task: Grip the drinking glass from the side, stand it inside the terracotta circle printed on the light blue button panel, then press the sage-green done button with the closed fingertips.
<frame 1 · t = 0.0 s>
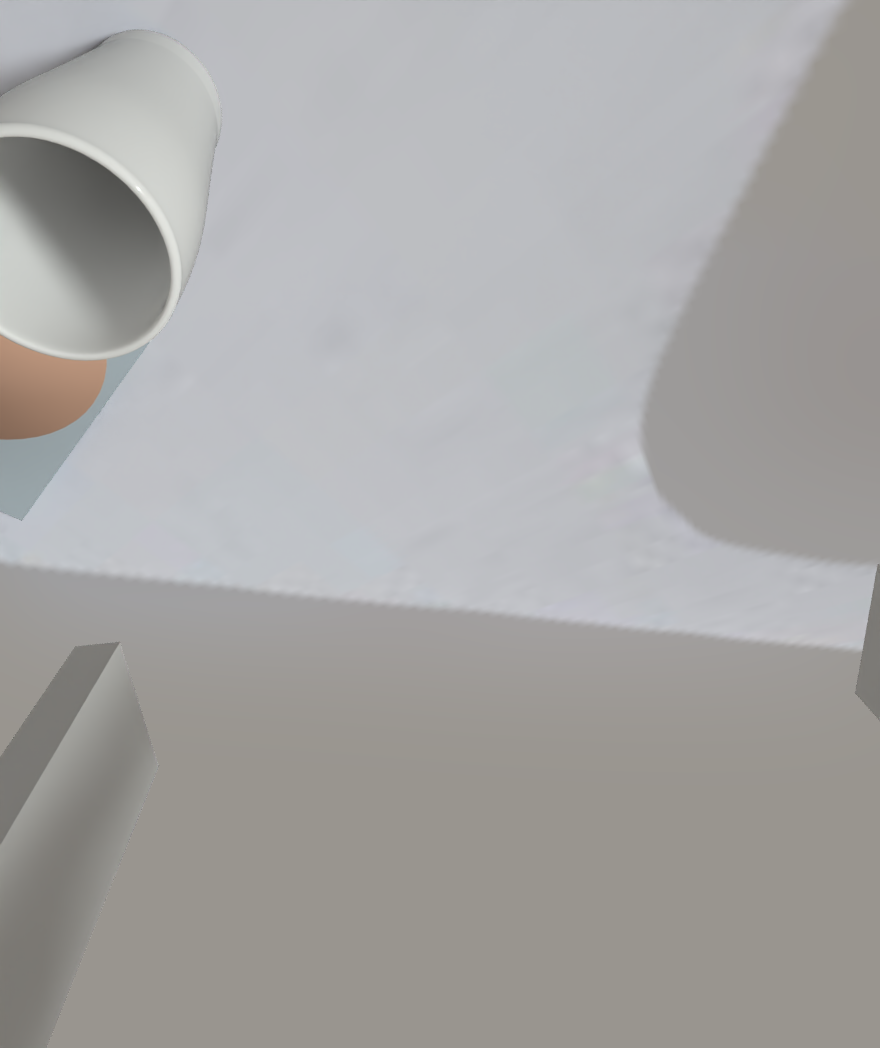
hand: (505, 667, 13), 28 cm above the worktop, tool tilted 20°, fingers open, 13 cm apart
drinking glass: (158, 99, 32), on the worktop
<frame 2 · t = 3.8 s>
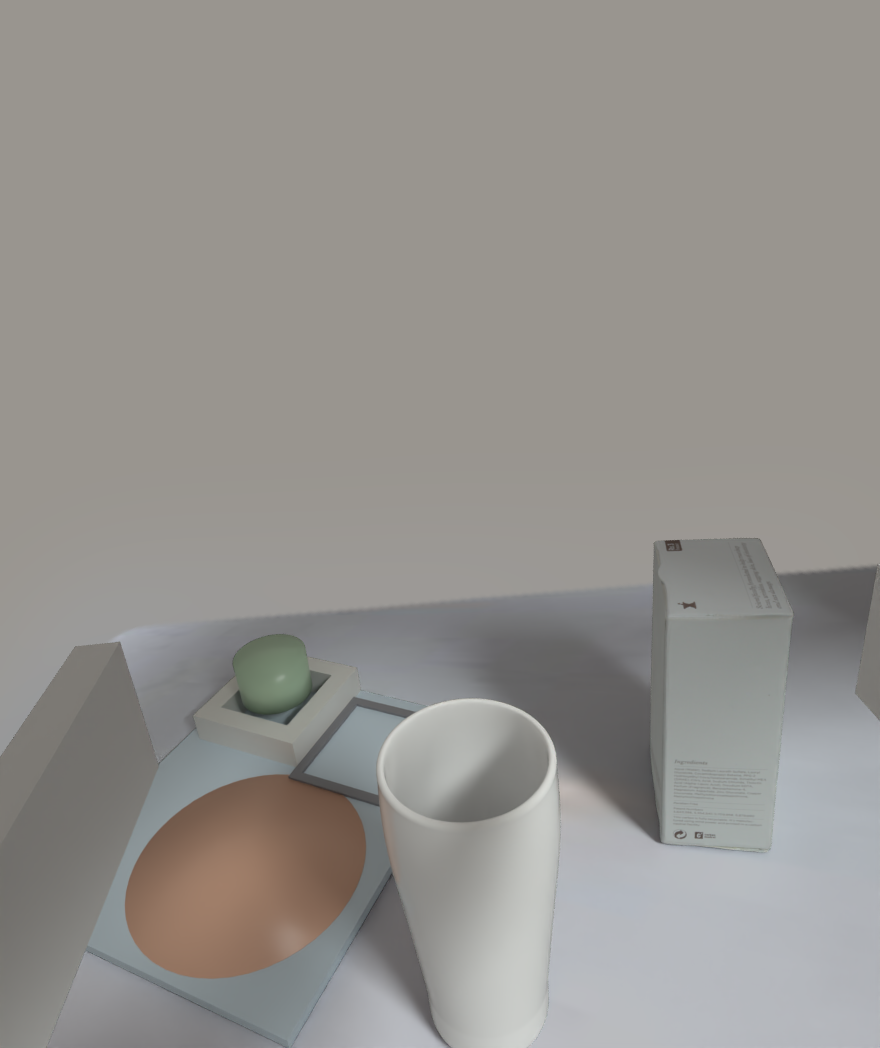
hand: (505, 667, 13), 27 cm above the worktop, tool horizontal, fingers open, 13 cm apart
done button: (273, 673, 51), point 4 cm above the worktop, slide at 0.0 cm
drinking glass: (489, 1008, 35), on the worktop
button collar: (282, 713, 53), resting on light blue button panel
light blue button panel: (271, 809, 46), on the worktop
skincare box: (701, 794, 44), on the worktop
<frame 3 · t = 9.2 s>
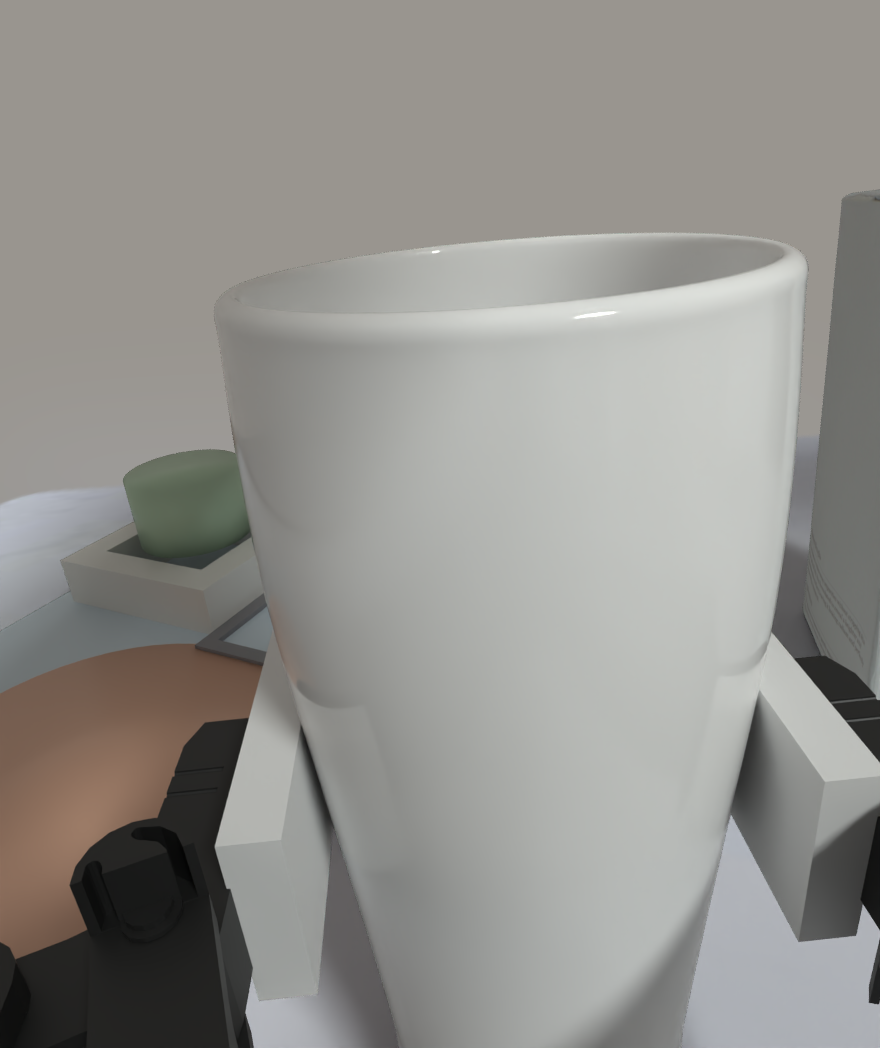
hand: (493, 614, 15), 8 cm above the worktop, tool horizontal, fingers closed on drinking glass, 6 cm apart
done button: (190, 501, 33), point 4 cm above the worktop, slide at 0.0 cm
button collar: (207, 572, 34), resting on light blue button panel
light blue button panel: (160, 693, 27), on the worktop
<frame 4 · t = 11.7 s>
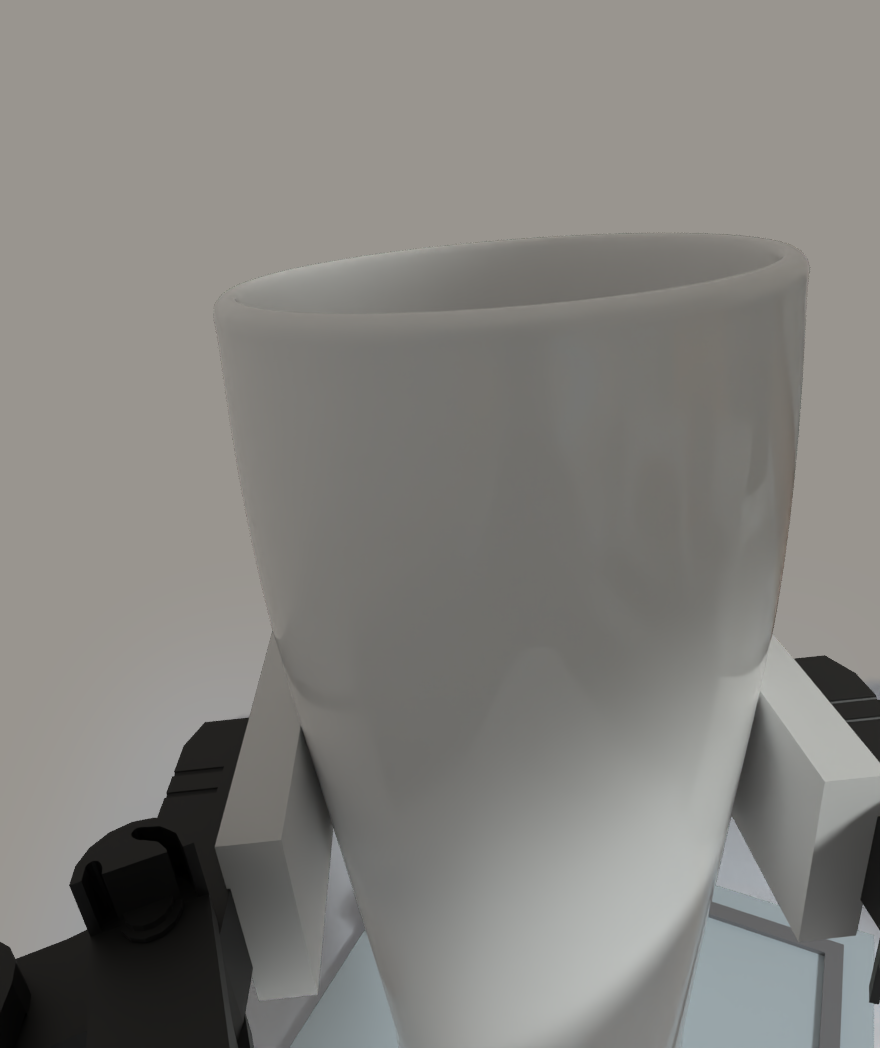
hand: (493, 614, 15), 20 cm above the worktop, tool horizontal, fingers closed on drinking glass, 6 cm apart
when the fingers open (9 cm above the worktop, at t = 14.6 s): drinking glass stays where it is, resting on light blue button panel.
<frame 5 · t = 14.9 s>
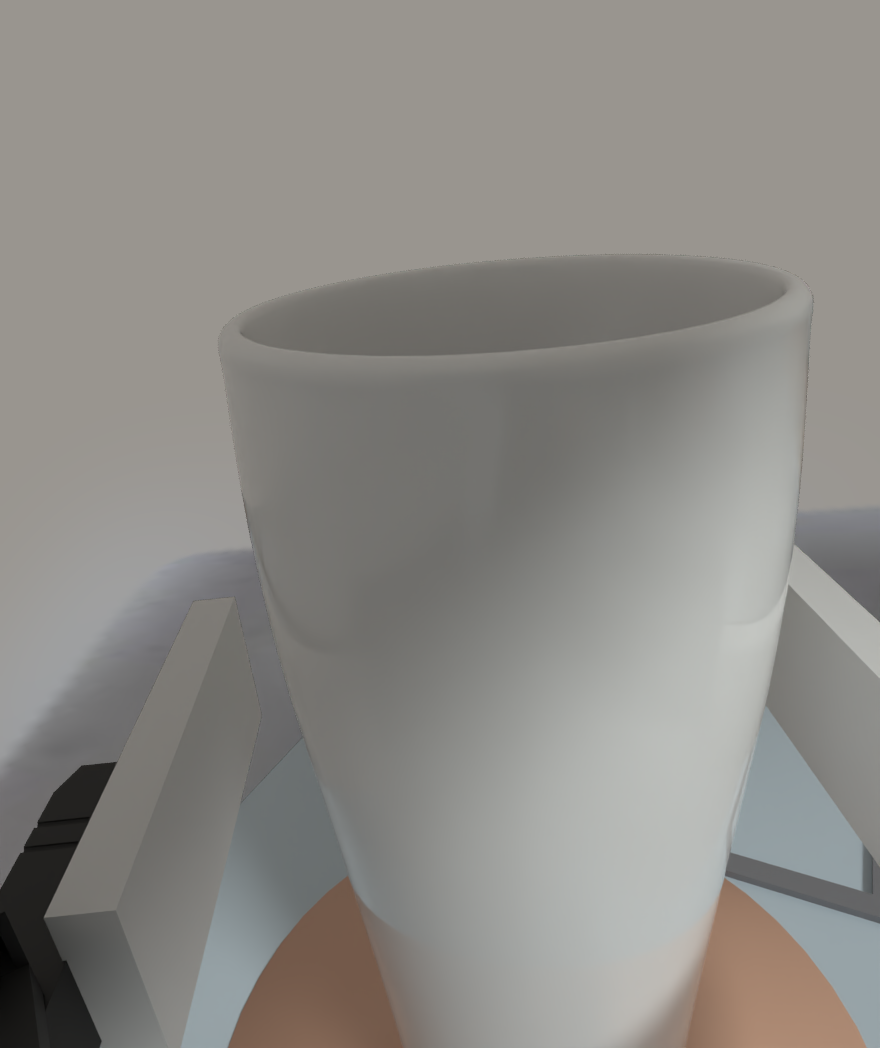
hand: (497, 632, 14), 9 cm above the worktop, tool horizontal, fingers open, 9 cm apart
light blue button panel: (537, 900, 19), on the worktop
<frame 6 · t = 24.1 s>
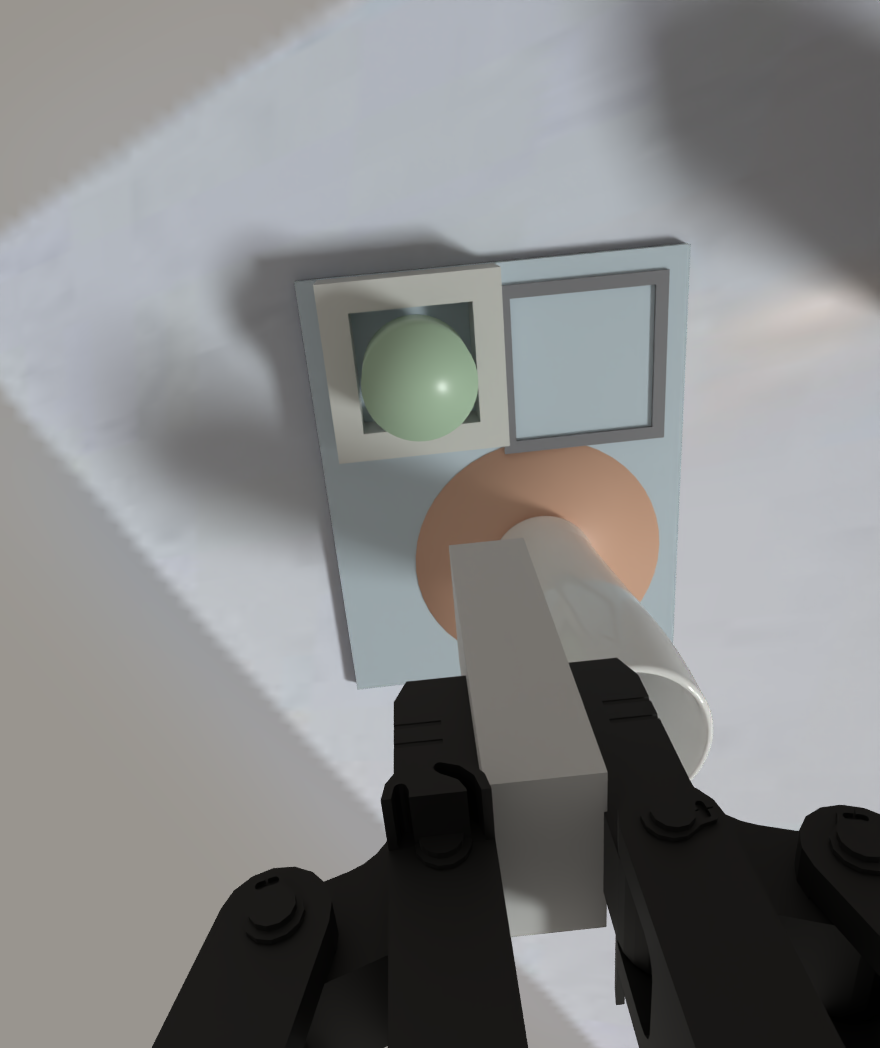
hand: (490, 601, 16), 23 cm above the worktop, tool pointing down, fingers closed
done button: (418, 377, 32), point 4 cm above the worktop, slide at 0.0 cm
drinking glass: (539, 556, 40), resting on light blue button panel
button collar: (414, 360, 36), resting on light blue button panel
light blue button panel: (504, 486, 39), on the worktop
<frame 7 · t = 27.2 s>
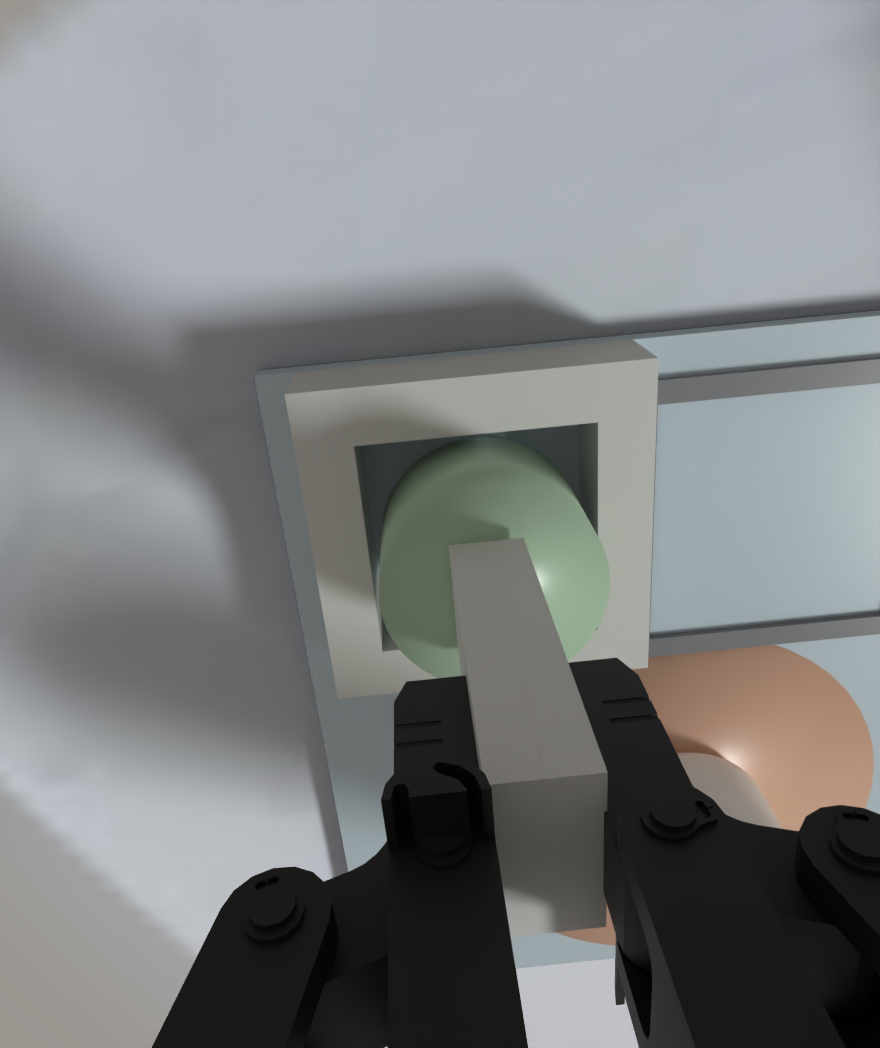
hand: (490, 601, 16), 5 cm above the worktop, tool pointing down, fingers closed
done button: (487, 559, 17), point 3 cm above the worktop, slide at 0.7 cm, touching gripper
drinking glass: (671, 803, 24), resting on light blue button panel
button collar: (475, 510, 20), resting on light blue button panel
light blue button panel: (619, 698, 23), on the worktop
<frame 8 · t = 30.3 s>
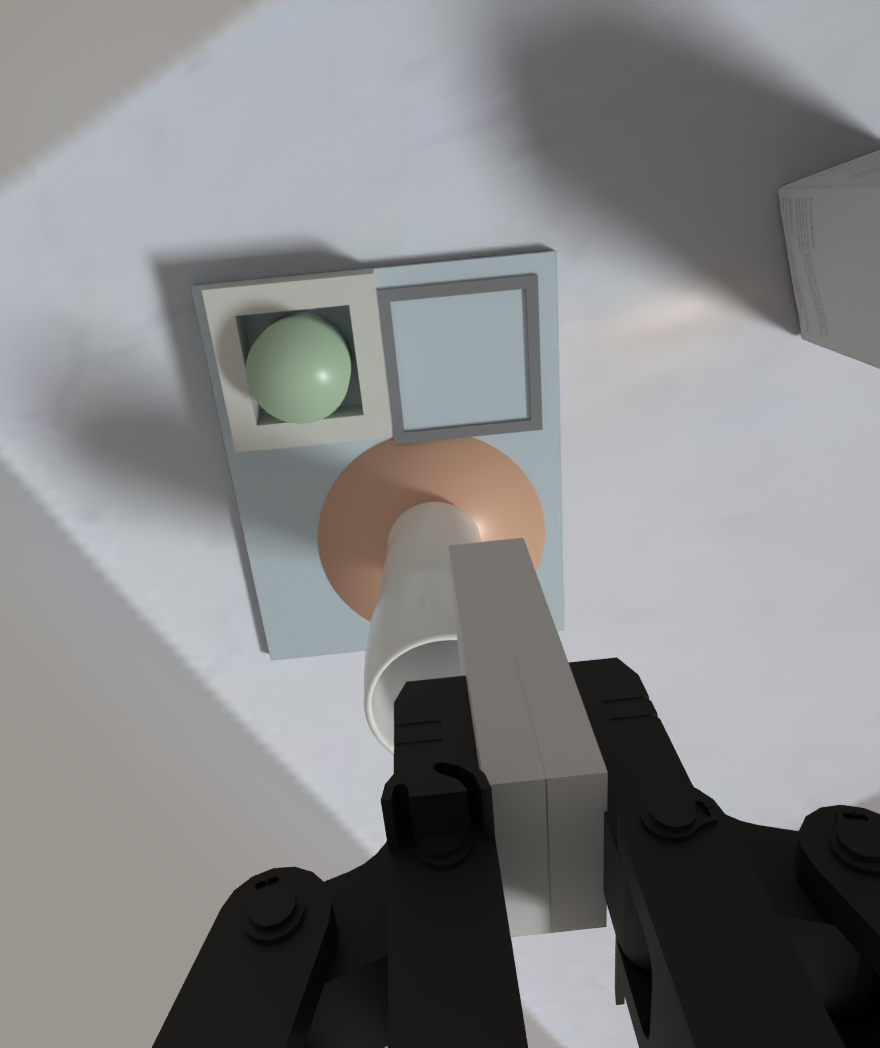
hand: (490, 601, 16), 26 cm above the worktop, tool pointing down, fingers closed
done button: (301, 367, 37), point 3 cm above the worktop, slide at 1.5 cm
drinking glass: (433, 539, 44), resting on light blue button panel
button collar: (305, 358, 39), resting on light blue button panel
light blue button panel: (398, 473, 42), on the worktop
skincare box: (836, 243, 39), on the worktop
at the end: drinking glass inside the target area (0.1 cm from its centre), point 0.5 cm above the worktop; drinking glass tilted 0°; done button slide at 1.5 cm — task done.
